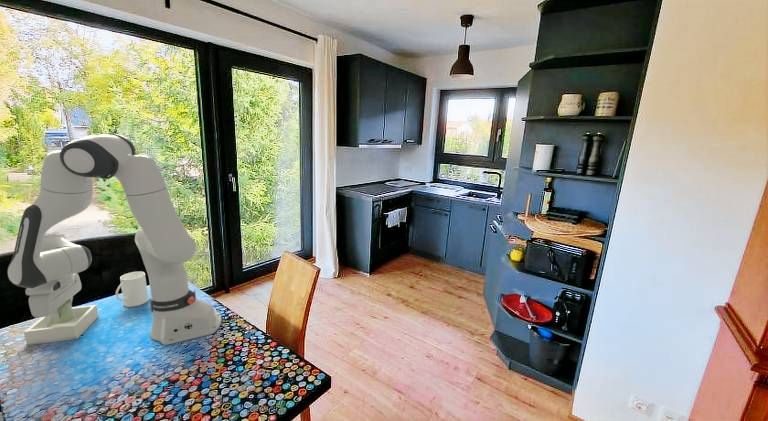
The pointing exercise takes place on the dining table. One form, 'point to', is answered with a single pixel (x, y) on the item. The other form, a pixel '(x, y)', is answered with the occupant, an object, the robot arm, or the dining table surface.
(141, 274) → the mug
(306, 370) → the dining table surface
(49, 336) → the bin
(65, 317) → the pale green rounded piece
